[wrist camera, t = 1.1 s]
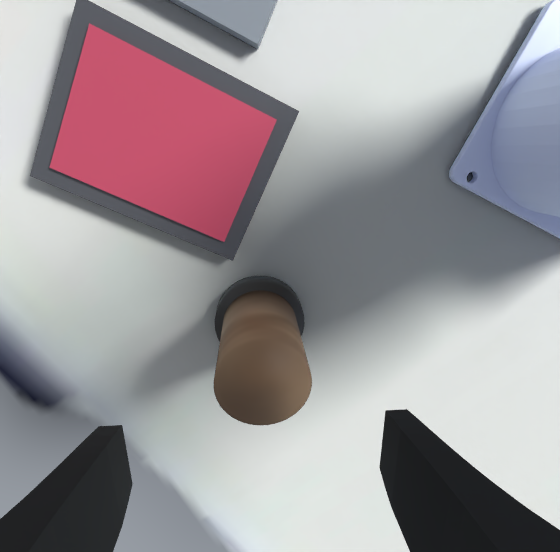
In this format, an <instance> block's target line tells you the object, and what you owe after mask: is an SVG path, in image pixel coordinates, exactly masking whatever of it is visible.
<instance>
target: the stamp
mask: <svg viewBox="0 0 560 552" xmlns="http://www.w3.org/2000/svg"><path fill="white" fill-rule="evenodd" d="M303 329H304V315H303V311H302V308H301V305H300V302H299V299H298V297H297V296H296V294H295V292H294V291H293V290H292V289H291V288H290V287H289V286H288V285H287V284H285V283H284V282H282V281H280V280H278V279H276V278H273V277H268V276H252V277H247V278H244V279H242V280H239V281H237V282H236V283H234V284H233V285H232V286H230V287H229V288H228V289H227V290H226V291H225V293H224V294H223V295H222V297H221V299H220V301H219V304H218V308H217V313H216V317H215V330H216V334H217V337H218V339H219V341H220V345H219V351H218V358H217V364H216V370H215V377H214V392H215V396H216V399H217V401H218V403H219V404H220V406H221V407H222V408H223V410H224V411H225V412H226V413H227V414H229V415H230V416H231V417H233V418H235V419H237V420H238V421H241V422H244V423H247V424H252V425H270V424H275V423H278V422H281V421H284V420H286V419H288V418H290V417H291V416H293V415H294V414H295V413H297V412H298V411H299V410H300V409H301V408H302V406H303V405H304V404H305V402H306V401H307V399H308V397H309V394H310V391H311V386H312V378H311V372H310V369H309V365H308V361H307V357H306V354H305V350H304V346H303V342H302V339H301V336H302V333H303Z"/></svg>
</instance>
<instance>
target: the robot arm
mask: <svg viewBox="0 0 560 552" xmlns="http://www.w3.org/2000/svg"><path fill="white" fill-rule="evenodd" d="M470 172H472V173H473V178H472V180H471V181H470V182H468V181H467V175H468V174H469V173H470ZM449 177H450V179H451V180H452V181H453V182H454V183H456V184H458V185H460V186H462V187H463V188H465V189H467V190H469V191H471V192H473V193H475V194H477V195H478V196H480V197H482V198H484V199H486V200H488V201H490V202H492V203H493V204H495V205H497V206H499V207H501V208H503V209H505V210H507V211H508V212H510V213H512V214H514V215H516V216H518V217H520V218H522V219H523V220H525V221H527V222H529V223H531V224H533V225H535V226H537V227H538V228H540V229H542V230H544V231H546V232H548V233H550V234H552V235H553V236H555V237H557V238H559V239H560V0H552V1H550V2H549V3H547V4H546V5H545V6H544V7H543V9H542V11H541V12H540V14H539V16H538V17H537V19H536V21H535V23H534V24H533V26H532V28H531V30H530V31H529V33H528V35H527V36H526V38H525V40H524V42H523V43H522V45H521V47H520V49H519V50H518V52H517V54H516V56H515V57H514V59H513V61H512V62H511V64H510V66H509V68H508V69H507V71H506V73H505V75H504V76H503V78H502V80H501V81H500V83H499V85H498V87H497V88H496V90H495V92H494V94H493V95H492V97H491V99H490V101H489V102H488V104H487V106H486V107H485V109H484V111H483V113H482V114H481V116H480V118H479V120H478V121H477V123H476V125H475V126H474V128H473V130H472V132H471V133H470V135H469V137H468V139H467V140H466V142H465V144H464V145H463V147H462V149H461V151H460V152H459V154H458V156H457V158H456V159H455V161H454V163H453V165H452V166H451V168H450V171H449ZM380 471H381V474H382V478H383V481H384V485H385V488H386V491H387V495H388V498H389V501H390V504H391V507H392V509H393V512H394V514H395V517H396V519H397V522H398V524H399V526H400V529H401V531H402V533H403V536H404V538H405V541H406V543H407V545H408V548H409V550H410V552H560V530H559V529H557V528H556V527H554V526H553V525H551V524H550V523H548V522H547V521H546V520H544V519H543V518H541V517H540V516H538V515H537V514H535V513H534V512H532V511H531V510H529V509H528V508H527V507H525V506H524V505H522V504H521V503H520V502H518V501H517V500H516V499H514V498H513V497H511V496H510V495H509V494H508V493H506V492H505V491H504V490H502V489H501V488H500V487H498V486H497V485H496V484H494V483H493V482H492V481H491V480H489V479H488V478H487V477H485V476H484V475H483V474H482V473H480V472H479V471H478V470H477V469H475V468H474V467H473V466H472V465H471V464H469V463H468V462H467V461H466V460H465V459H463V458H462V457H461V456H460V455H459V454H457V453H456V452H455V451H454V450H453V449H452V448H450V447H449V446H448V445H447V444H446V443H445V442H444V441H442V440H441V439H440V438H439V437H438V436H437V435H436V434H434V433H433V432H432V431H431V430H430V429H429V428H428V427H426V426H425V425H424V424H423V423H422V422H421V421H420V420H419V419H417V418H416V417H415V416H414V415H413V414H412V413H410V412H409V411H408V410H407V409H406V410H387V411H386V412H385V421H384V431H383V440H382V450H381V459H380ZM131 488H132V479H131V473H130V468H129V462H128V456H127V450H126V445H125V439H124V433H123V427H122V425H117V426H99V427H98V428H97V429H96V430H95V431H94V432H92V433H91V434H90V435H89V436H88V437H87V438H86V439H85V440H84V441H83V442H82V443H81V444H80V445H79V446H78V447H77V448H76V449H75V450H74V451H73V452H72V453H71V454H70V455H69V456H68V457H67V458H66V459H65V460H64V461H63V462H62V463H61V464H60V465H59V466H58V467H57V468H56V469H54V470H53V471H52V472H51V473H50V474H49V475H48V476H47V477H46V478H45V479H44V480H43V481H42V482H41V483H40V484H39V485H38V486H37V487H36V488H34V490H32V491H31V492H30V493H29V494H28V495H27V496H26V497H25V498H24V499H23V500H21V501H20V503H18V504H17V505H16V506H15V507H13V508H12V509H11V510H10V511H9V512H8V513H7V514H6V515H4V516H3V517H2V518H1V519H0V552H113V550H114V547H115V544H116V541H117V539H118V536H119V533H120V530H121V528H122V524H123V520H124V516H125V513H126V509H127V505H128V501H129V496H130V492H131Z"/></svg>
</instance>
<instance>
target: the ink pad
mask: <svg viewBox="0 0 560 552" xmlns="http://www.w3.org/2000/svg"><path fill="white" fill-rule="evenodd" d="M298 113H299V111H297V110H296V109H294V108H292V107H290V106H288V105H286V104H284V103H282V102H280V101H278V100H277V99H275V98H273V97H271V96H269V95H267V94H265V93H263V92H261V91H259V90H258V89H256V88H254V87H252V86H250V85H248V84H246V83H244V82H242V81H240V80H239V79H237V78H235V77H233V76H231V75H229V74H227V73H225V72H223V71H221V70H220V69H218V68H216V67H214V66H212V65H210V64H208V63H206V62H204V61H202V60H201V59H199V58H197V57H195V56H193V55H191V54H189V53H187V52H185V51H183V50H182V49H180V48H178V47H176V46H174V45H172V44H170V43H168V42H166V41H164V40H162V39H161V38H159V37H157V36H155V35H153V34H151V33H149V32H147V31H145V30H143V29H142V28H140V27H138V26H136V25H134V24H132V23H130V22H128V21H126V20H124V19H123V18H121V17H119V16H117V15H115V14H113V13H111V12H109V11H107V10H105V9H104V8H102V7H100V6H98V5H96V4H94V3H92V2H90V1H88V0H76V3H75V7H74V11H73V15H72V19H71V22H70V26H69V30H68V34H67V38H66V41H65V45H64V49H63V53H62V57H61V60H60V64H59V68H58V72H57V76H56V79H55V83H54V87H53V91H52V95H51V98H50V102H49V106H48V110H47V114H46V117H45V121H44V125H43V129H42V132H41V136H40V140H39V144H38V148H37V151H36V155H35V159H34V163H33V167H32V170H31V174H30V176H32V177H34V178H37V179H39V180H41V181H44V182H46V183H48V184H51V185H53V186H56V187H58V188H60V189H63V190H65V191H68V192H70V193H72V194H75V195H77V196H80V197H82V198H84V199H87V200H89V201H92V202H94V203H96V204H99V205H101V206H103V207H106V208H108V209H111V210H113V211H115V212H118V213H120V214H123V215H125V216H127V217H130V218H132V219H135V220H137V221H139V222H142V223H144V224H146V225H149V226H151V227H154V228H156V229H158V230H161V231H163V232H166V233H168V234H170V235H173V236H175V237H178V238H180V239H182V240H185V241H187V242H189V243H192V244H194V245H197V246H199V247H201V248H204V249H206V250H209V251H211V252H213V253H216V254H218V255H221V256H223V257H225V258H228V259H230V260H233V259H234V257H235V254H236V252H237V250H238V248H239V245H240V243H241V241H242V239H243V236H244V234H245V232H246V230H247V227H248V225H249V223H250V221H251V218H252V216H253V214H254V212H255V209H256V207H257V205H258V203H259V200H260V198H261V196H262V194H263V191H264V189H265V187H266V185H267V182H268V180H269V178H270V176H271V173H272V171H273V169H274V167H275V165H276V162H277V160H278V158H279V156H280V153H281V151H282V149H283V147H284V144H285V142H286V140H287V138H288V135H289V133H290V131H291V129H292V126H293V124H294V122H295V120H296V117H297V115H298Z"/></svg>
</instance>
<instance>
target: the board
mask: <svg viewBox="0 0 560 552" xmlns="http://www.w3.org/2000/svg"><path fill="white" fill-rule="evenodd" d="M169 1H171V2H173V3H174V4H176V5H178V6H180V7H182V8H184V9H185V10H187V11H189V12H191V13H193V14H194V15H196V16H198V17H200V18H202V19H204V20H205V21H207V22H209V23H211V24H213V25H214V26H216V27H218V28H220V29H222V30H224V31H225V32H227V33H229V34H231V35H233V36H234V37H236V38H238V39H240V40H242V41H244V42H245V43H247V44H249V45H251V46H253V47H254V48H256V49H258V48H259V46H260V43H261V41H262V38H263V36H264V33H265V31H266V28H267V26H268V23H269V21H270V18H271V16H272V13H273V11H274V8H275V5H276V3H277V0H169Z"/></svg>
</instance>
